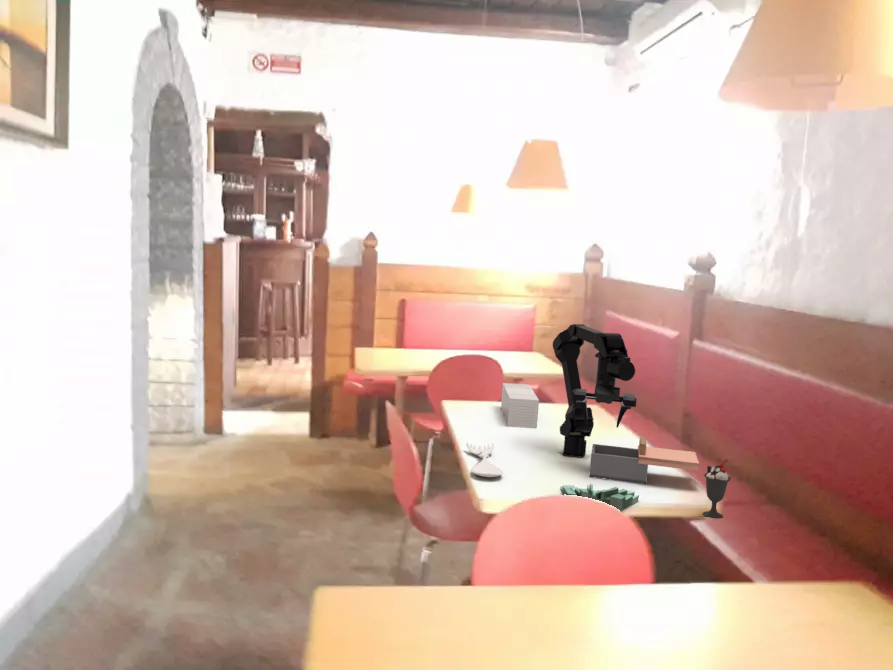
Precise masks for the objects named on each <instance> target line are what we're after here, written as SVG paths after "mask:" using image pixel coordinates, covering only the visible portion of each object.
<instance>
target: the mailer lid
mask: <svg viewBox="0 0 893 670" xmlns="http://www.w3.org/2000/svg"><path fill="white" fill-rule="evenodd" d="M646 440H647V439H646V437H644V436H639V443H638V445H637V449H638V456H639V461H638V464H646V465H648V466H653V467H654V466H656V467H665V468H671V469H673V468H674V469H681V470H682V469H683V470H687V471H689V470H690V471H700V461H699V459H698V456H697V453H696V452H695V451H689V450H682V449H673V448H665V447H656V446H655V447H654V446H649V445H648V446H647V441H646Z"/></svg>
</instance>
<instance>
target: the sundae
mask: <svg viewBox="0 0 893 670" xmlns="http://www.w3.org/2000/svg"><path fill="white" fill-rule="evenodd" d="M727 462H728V459H725V460H724V461H723V463H719V464H718V465H715V466H710V465H707V468H706V469H707V470H706V471H707V472H706V473H703V477H705V485H706V489H705V491H706V497H707V498H708V499H709V501H710V502H711V507H710V510H707V511H704V512H703V513H702V515H704V516H705V517H707V518H710V519H717V520H718V519H722V518H724V515H723V514H721V513H719V512H718V510H717V505H718V503H719V502H721V501H722V500H723V499H724V496H725V493H726V491H727V486H728V484H729V482H730V481H731V480H732V477H731V476H729V474H728V473H727V470H726V468H725V467H724V465H725V463H727Z"/></svg>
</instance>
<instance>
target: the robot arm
mask: <svg viewBox="0 0 893 670" xmlns="http://www.w3.org/2000/svg"><path fill="white" fill-rule="evenodd" d="M585 342H586V343H589V344H591V345H593V348H594V349H596V351H598V352H597V353H595V355H594V357H595V358H597V366H596V367H597V368H596V379H595V386H594V387H595V388H594V392H587V389H585V388H582V384H581V377H580V371H579V367H578V366H579V365H578V359H579V357H580V354H581V348H582V346H583V345H584V344H585ZM552 349H553V352H554V355H555V358H557V361H559V363H560V364H561V366H562V374H563V379H564V380H563V381H564V386H565V391H566V398H567V403H568V408H567V409H566V412H565V414H564V418H565V419H564V422H562V424H561V425H560V426H559V434H560V435H561V436H564V441H563V443H564V444H563V452H562V455H563V456H570V457H577V458H584V455H586V451H587V440H586V437H591V435H592V432H593V429H594V424H595V423H594V416H593V410H592V408H591V407H588V400H595V402H596V403H599V404H600V403H602V404H604V403H605V404H608V405H610V404H611V405H612V403H614V402H615V403H620V405H619V406H620V407H619V411H618V416H617V420H616V428H619V425H620V424H621V422H622V419H623V417H624V415H625V413H626V412H627V410H631V409H632V408H636V407H637V399H638V398H637V396H636V395H635V394H632V393H631V394H629V393H623V394H622V395H620V394H621V393H620V392H621V387H617V386H616V382H617V379H618V380H620V381H624V382H627V381H630V380H632V379H633V378H634V376H635V374H636V368H635V365H634V364H633V363H632V362H631V357H629V355H628V350H627V348H626V345H625V340H624V338H623V337H622V335H621V334H620V333H618V332H617V333H616V332H603V331H600V330H597V329H596V328H595V329H594V328H592V327H590V326H587V325H585V324H577V323H573V324H570V325H569V326H568V327H567V328H566V329H564V330H563V331H561V332H559V333H558V334H557V335H556V337H555V338H554V340H553V341H552Z"/></svg>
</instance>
